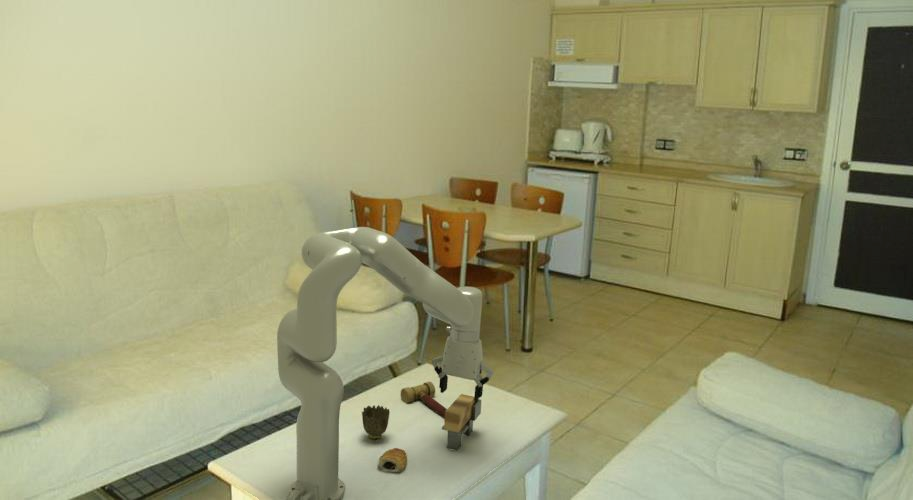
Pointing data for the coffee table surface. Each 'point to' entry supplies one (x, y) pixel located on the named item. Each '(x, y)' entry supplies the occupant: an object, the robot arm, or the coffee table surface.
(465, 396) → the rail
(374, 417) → the cup
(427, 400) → the gavel
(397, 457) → the pastry
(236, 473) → the coffee table surface
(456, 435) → the grey tabbed slab
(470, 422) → the cup bracket
